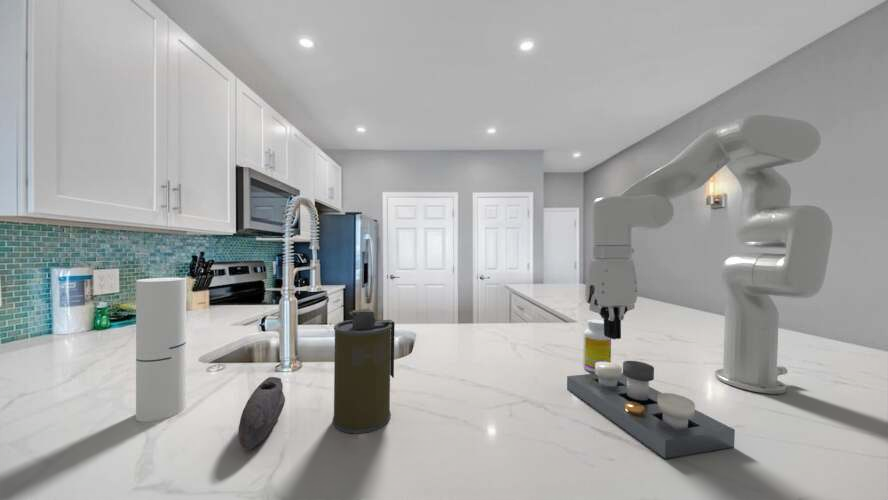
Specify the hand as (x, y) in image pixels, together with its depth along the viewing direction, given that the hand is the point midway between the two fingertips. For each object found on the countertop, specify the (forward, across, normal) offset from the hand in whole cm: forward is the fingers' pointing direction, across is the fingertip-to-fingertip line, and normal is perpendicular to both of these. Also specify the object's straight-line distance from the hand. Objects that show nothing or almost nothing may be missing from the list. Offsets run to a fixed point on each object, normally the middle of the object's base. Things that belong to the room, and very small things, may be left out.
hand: (612, 337), depth 72 cm
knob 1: (+12, +1, 0) cm, 12 cm away
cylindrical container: (+10, +90, -12) cm, 92 cm away
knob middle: (+9, +1, +8) cm, 12 cm away
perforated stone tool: (+10, +70, 0) cm, 71 cm away
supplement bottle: (+13, -7, -14) cm, 20 cm away
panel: (+13, +1, +8) cm, 15 cm away
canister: (+11, +53, -2) cm, 54 cm away
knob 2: (+12, +1, +16) cm, 20 cm away
